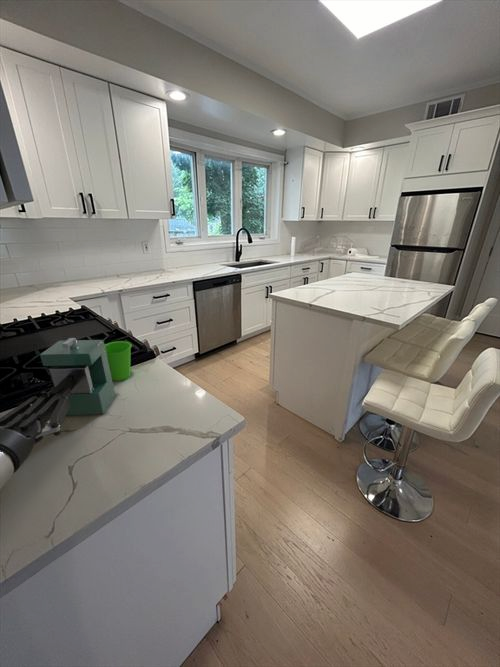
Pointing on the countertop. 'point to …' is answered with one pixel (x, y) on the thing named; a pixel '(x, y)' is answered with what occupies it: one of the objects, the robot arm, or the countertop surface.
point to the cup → (119, 359)
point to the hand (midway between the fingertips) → (70, 382)
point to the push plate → (73, 377)
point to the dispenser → (99, 370)
